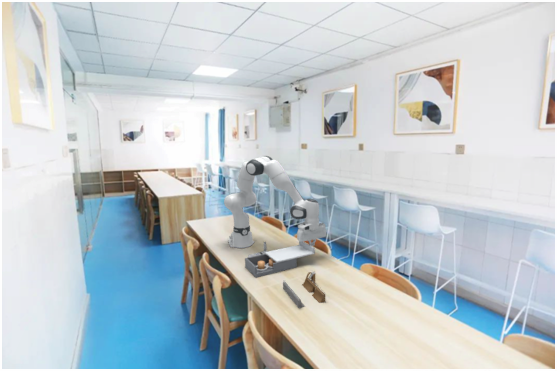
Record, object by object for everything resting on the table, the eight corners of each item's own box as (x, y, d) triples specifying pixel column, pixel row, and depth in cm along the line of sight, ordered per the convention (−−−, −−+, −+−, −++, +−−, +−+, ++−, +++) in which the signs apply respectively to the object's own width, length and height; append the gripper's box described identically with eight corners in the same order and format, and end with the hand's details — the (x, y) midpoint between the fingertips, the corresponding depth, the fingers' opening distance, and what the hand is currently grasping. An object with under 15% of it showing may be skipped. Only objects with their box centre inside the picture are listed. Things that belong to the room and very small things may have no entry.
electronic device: (245, 244, 183) (266, 240, 190) (246, 259, 184) (267, 253, 191) (248, 247, 178) (270, 242, 185) (249, 262, 180) (270, 256, 187)
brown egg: (263, 267, 168) (262, 260, 167) (265, 269, 164) (265, 262, 164) (256, 268, 166) (256, 261, 165) (259, 271, 162) (259, 264, 162)
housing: (245, 268, 169) (244, 258, 168) (283, 259, 181) (283, 249, 180) (256, 279, 155) (255, 268, 154) (296, 268, 167) (296, 258, 166)
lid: (264, 253, 174) (264, 247, 174) (300, 245, 186) (300, 240, 186) (276, 262, 160) (276, 256, 160) (314, 253, 172) (314, 247, 172)
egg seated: (268, 266, 169) (267, 258, 169) (274, 264, 171) (273, 257, 170) (271, 268, 166) (270, 261, 165) (277, 267, 168) (276, 259, 167)
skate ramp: (271, 286, 148) (270, 273, 147) (329, 274, 160) (329, 262, 159) (293, 318, 121) (293, 301, 120) (362, 301, 133) (362, 286, 132)
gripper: (322, 221, 186) (322, 241, 188) (295, 225, 177) (295, 247, 179) (328, 223, 181) (328, 244, 183) (301, 228, 171) (301, 250, 173)
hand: (312, 245), depth 181 cm, fingers closed
